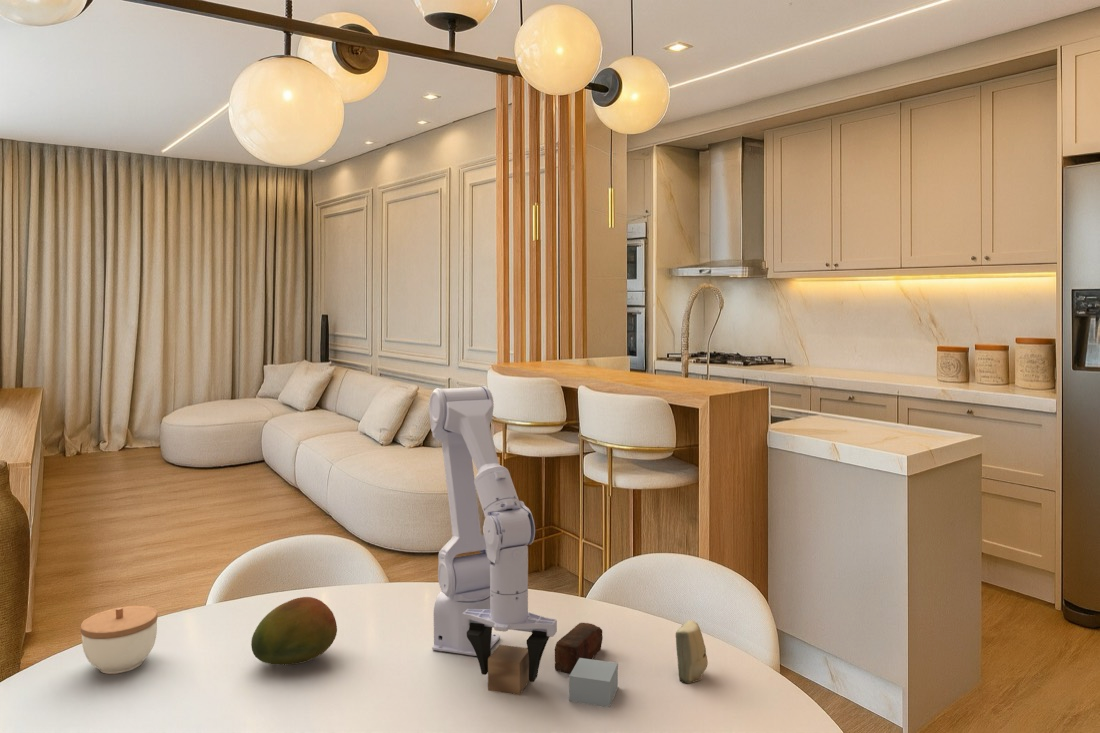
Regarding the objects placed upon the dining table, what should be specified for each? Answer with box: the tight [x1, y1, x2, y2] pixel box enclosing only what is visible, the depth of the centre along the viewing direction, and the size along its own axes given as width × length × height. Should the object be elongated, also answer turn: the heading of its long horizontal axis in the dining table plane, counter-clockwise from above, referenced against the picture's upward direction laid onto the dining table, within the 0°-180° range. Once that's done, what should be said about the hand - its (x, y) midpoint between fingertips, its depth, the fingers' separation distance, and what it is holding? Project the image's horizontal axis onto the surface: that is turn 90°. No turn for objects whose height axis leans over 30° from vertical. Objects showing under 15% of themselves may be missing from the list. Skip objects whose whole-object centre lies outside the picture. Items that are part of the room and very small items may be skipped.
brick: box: [554, 622, 603, 675], centre depth 123 cm, size 11×4×5 cm, turn 153°
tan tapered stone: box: [675, 619, 709, 684], centre depth 117 cm, size 6×5×8 cm
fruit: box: [250, 596, 338, 666], centre depth 122 cm, size 12×13×10 cm
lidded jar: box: [79, 605, 158, 675], centre depth 121 cm, size 11×11×9 cm
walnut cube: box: [487, 644, 530, 696], centre depth 114 cm, size 5×5×5 cm
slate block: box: [568, 658, 619, 708], centre depth 112 cm, size 6×6×4 cm
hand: (509, 675), depth 114 cm, fingers open, 7 cm apart
